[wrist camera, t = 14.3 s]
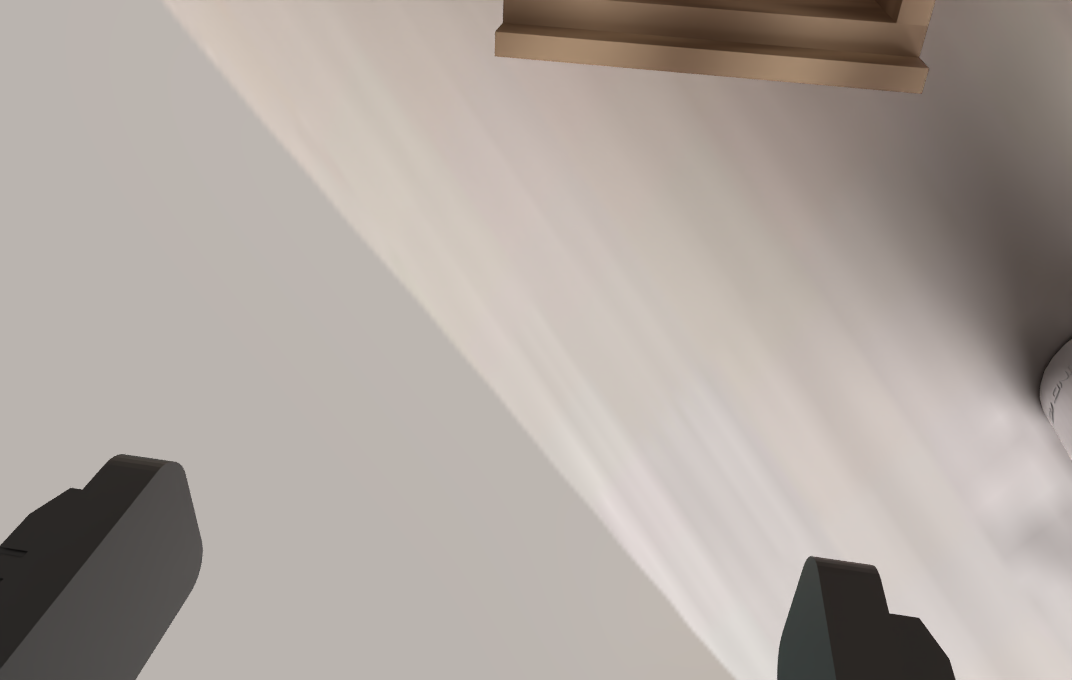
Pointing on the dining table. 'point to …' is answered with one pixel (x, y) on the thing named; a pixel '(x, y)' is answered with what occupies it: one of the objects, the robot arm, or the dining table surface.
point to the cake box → (730, 38)
